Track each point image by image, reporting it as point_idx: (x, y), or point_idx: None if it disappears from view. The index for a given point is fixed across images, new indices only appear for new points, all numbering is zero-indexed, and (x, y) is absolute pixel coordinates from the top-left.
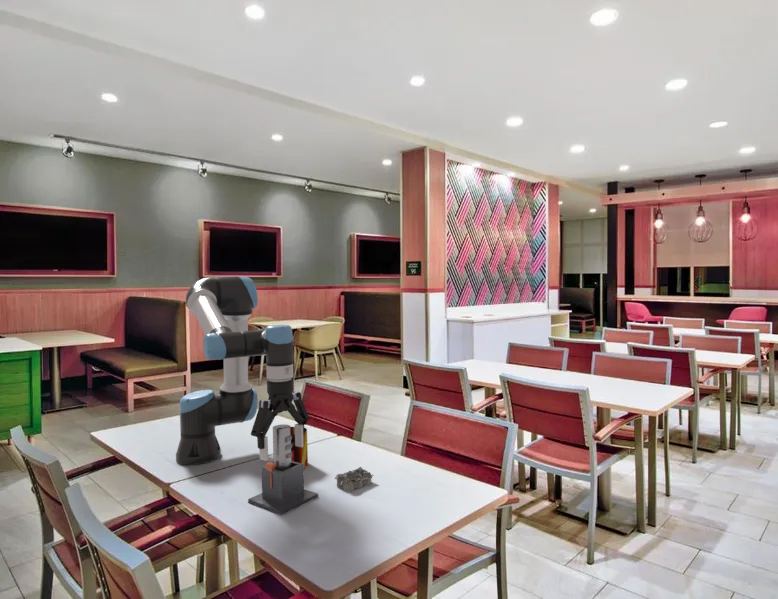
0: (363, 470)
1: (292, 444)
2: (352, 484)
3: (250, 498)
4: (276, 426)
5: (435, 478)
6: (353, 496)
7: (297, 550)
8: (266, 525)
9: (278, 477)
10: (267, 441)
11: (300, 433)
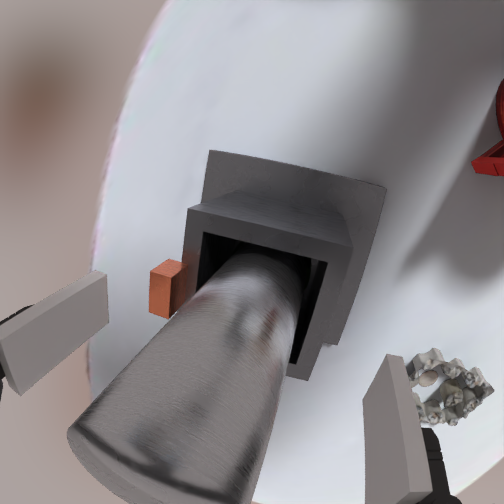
0: (480, 399)
1: None
2: None
3: (216, 153)
4: (123, 454)
5: (464, 472)
6: None
7: None
8: (139, 291)
9: None
10: (38, 378)
11: (370, 467)
